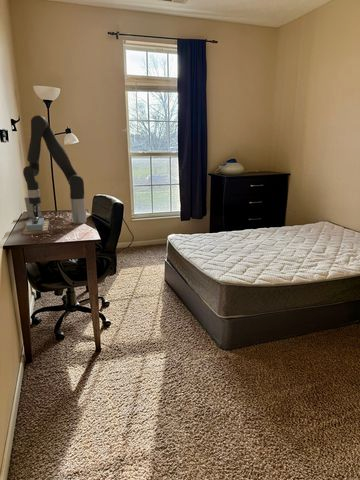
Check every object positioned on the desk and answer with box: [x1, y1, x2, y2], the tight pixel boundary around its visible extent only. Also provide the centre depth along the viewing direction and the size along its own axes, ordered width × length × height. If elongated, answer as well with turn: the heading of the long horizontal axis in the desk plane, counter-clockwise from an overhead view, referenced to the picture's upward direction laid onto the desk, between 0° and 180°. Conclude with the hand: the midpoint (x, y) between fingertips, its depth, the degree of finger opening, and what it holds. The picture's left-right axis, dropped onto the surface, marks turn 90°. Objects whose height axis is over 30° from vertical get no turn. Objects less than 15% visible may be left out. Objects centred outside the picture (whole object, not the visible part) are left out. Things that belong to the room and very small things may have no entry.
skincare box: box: [24, 196, 43, 219], centre depth 243 cm, size 8×7×16 cm
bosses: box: [32, 217, 40, 224], centre depth 211 cm, size 12×4×5 cm, turn 20°
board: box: [22, 219, 50, 235], centre depth 213 cm, size 30×14×2 cm, turn 20°
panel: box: [25, 217, 45, 231], centre depth 209 cm, size 21×9×4 cm, turn 20°
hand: (37, 221), depth 221 cm, fingers closed
